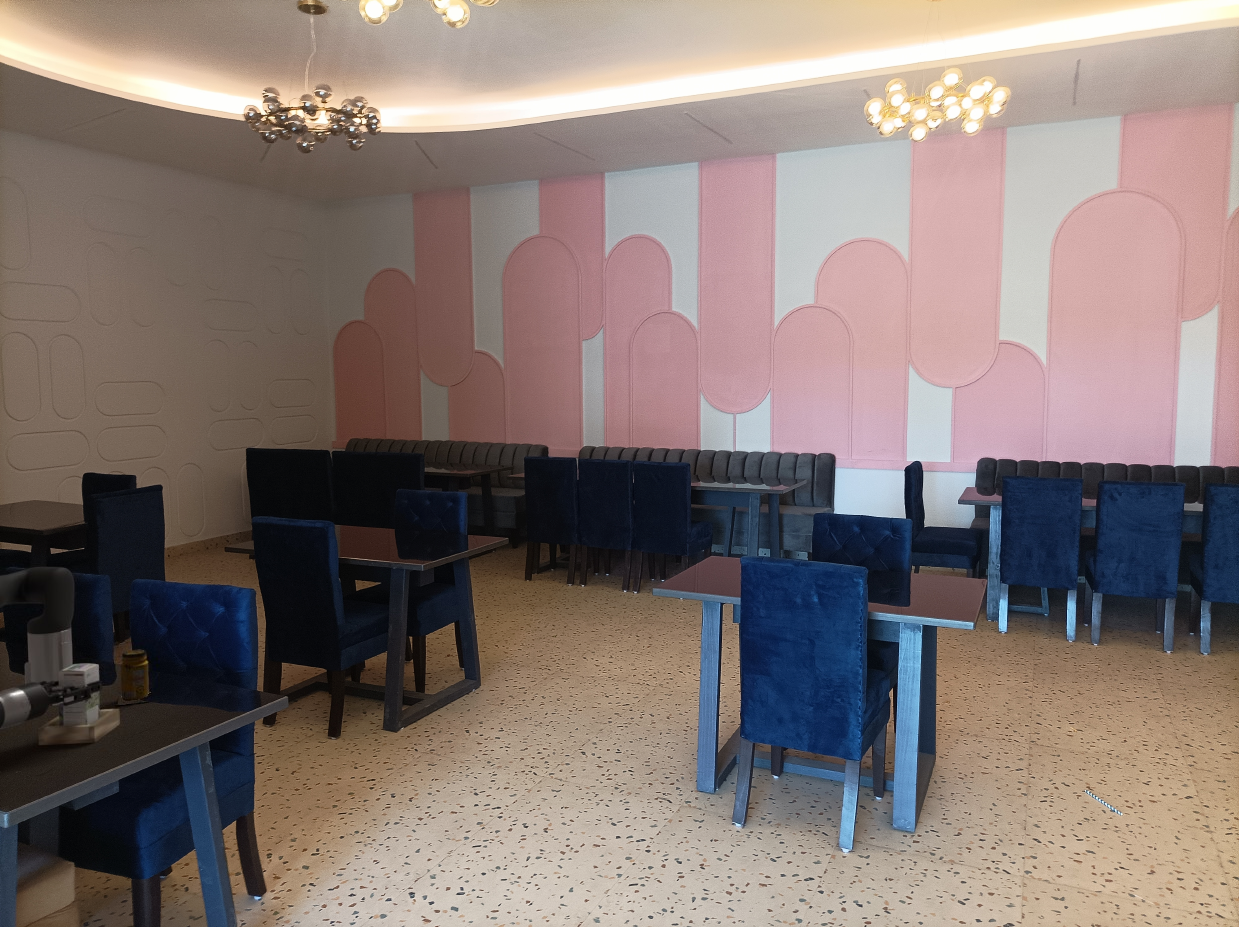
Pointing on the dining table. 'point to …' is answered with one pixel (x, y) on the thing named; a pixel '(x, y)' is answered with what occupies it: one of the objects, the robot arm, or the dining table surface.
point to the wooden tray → (79, 730)
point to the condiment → (134, 675)
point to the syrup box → (83, 710)
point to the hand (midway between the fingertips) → (86, 683)
